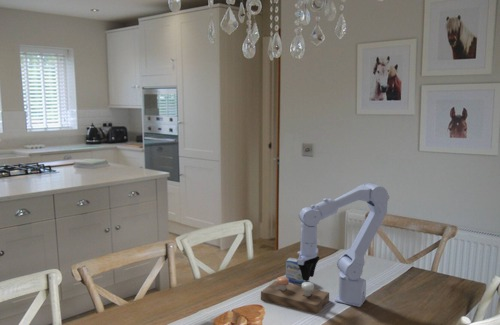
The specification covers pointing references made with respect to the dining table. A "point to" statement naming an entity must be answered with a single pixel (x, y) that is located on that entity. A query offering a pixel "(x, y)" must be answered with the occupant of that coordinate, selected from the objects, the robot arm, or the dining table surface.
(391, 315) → the dining table surface
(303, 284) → the white egg
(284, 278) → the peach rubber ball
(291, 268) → the medicine box
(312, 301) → the board
